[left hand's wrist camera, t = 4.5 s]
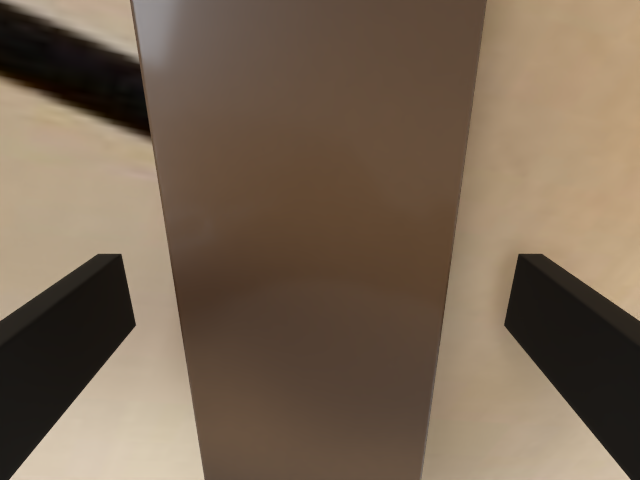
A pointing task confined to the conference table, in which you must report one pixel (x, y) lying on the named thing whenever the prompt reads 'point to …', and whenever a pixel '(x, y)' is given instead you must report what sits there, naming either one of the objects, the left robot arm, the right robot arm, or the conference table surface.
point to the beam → (310, 220)
